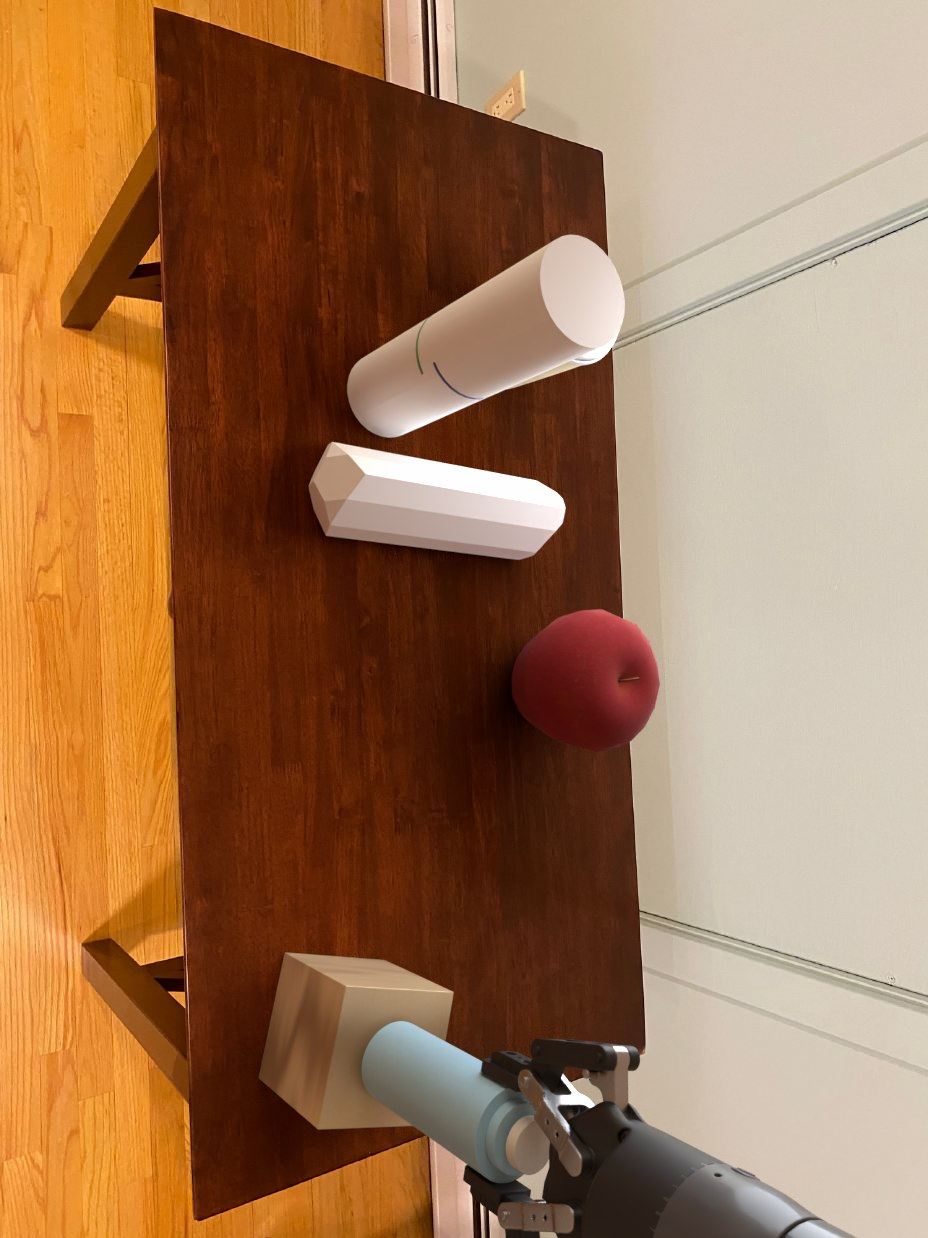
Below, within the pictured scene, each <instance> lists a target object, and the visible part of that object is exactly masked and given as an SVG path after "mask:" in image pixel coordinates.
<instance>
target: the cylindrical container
mask: <svg viewBox="0 0 928 1238" xmlns="http://www.w3.org/2000/svg"><path fill="white" fill-rule="evenodd" d="M624 293H625V292H624V288H623V284H622V281H621V278H620V275H619V273H618V272H617V268H616V266H615V265H614V263H613V261H612V260H611V258H610V257H609V256H608V254H607V253H606V252H605V251H604V250H603V249H602V248H601V247H599V245H597V244H596V243H595V242H594V241H592V240H591V239H588V238H587V237H585V236H582V235H579V234H566V235H562V236H560V237H557V238H556V239H554V240H552V241H551V242H549V243H547V244H545V245H544V246H542V247H541V248H539V249H537V250H536V251H534V252H532V253H531V254H529V255H528V256H526V257H524V258H523V259H521V260H519V261H518V262H516V263H514V264H513V265H511V266H509V267H508V268H507V269H505V270H504V271H502V272H500V273H498V274H497V275H495V276H493V277H492V278H491V279H489V280H487V281H485V282H484V283H482V284H481V285H479V286H477V287H476V288H474V289H473V290H471V291H469V292H468V293H466V294H464V295H463V296H461V297H460V298H458V299H456V300H454V301H453V302H451V303H450V304H447V305H446V306H445V307H443V308H442V309H440V310H438V311H437V312H436V313H433V314H432V315H430V316H429V317H427V318H425V319H424V320H422V321H420V322H419V323H417V324H415V325H414V326H412V327H410V328H409V329H407V330H406V331H404V332H402V333H400V334H399V335H398V336H396V337H394V338H393V339H391V340H390V341H388V342H386V343H385V344H383V345H381V346H380V347H378V348H377V349H375V350H373V351H372V352H369V354H367V355H365V356H364V357H362V358H360V359H359V360H358V361H357V362H356V363H355V364H354V365H353V367H352V368H351V370H350V373H349V375H348V379H347V384H346V394H347V399H348V403H349V407H350V408H351V411H352V413H353V415H354V416H355V418H356V419H357V420H358V422H359V423H360V424H361V425H362V426H363V427H364V428H365V429H366V430H367V431H369V432H370V433H372V434H374V435H376V436H379V437H383V438H389V439H390V438H391V439H392V438H398V437H401V436H404V435H406V434H408V433H410V432H413V431H415V430H417V429H420V428H422V427H425V426H426V425H429V424H431V423H433V422H435V421H438V420H440V419H442V418H445V417H446V416H449V415H451V414H453V413H455V412H458V411H460V410H462V409H465V408H467V407H469V406H471V405H473V404H476V403H478V402H481V401H482V400H483V401H484V400H485V399H488V398H490V397H492V396H494V395H496V394H500V393H502V392H504V391H505V390H509V389H508V388H510V387H512V386H515V385H517V384H519V383H521V382H524V381H526V380H528V379H530V378H533V377H535V376H537V375H539V374H542V373H544V372H546V371H549V370H551V369H553V368H555V367H558V366H560V365H562V364H564V363H567V362H569V361H571V360H573V359H576V358H578V357H580V356H582V355H585V354H587V353H589V352H592V351H594V350H596V349H598V348H601V347H603V346H605V345H607V344H608V343H610V342H611V341H612V340H613V339H614V338H615V337H616V336H617V334H618V335H619V333H620V330H621V329H622V325H623V322H624V319H625V313H626V312H625V311H626V305H625V303H626V302H625V301H626V300H625V294H624ZM617 337H618V336H617Z"/></svg>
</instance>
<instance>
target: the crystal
mask: <svg viewBox="0 0 928 1238" xmlns="http://www.w3.org/2000/svg"><path fill="white" fill-rule="evenodd" d="M314 469H315V470H314V471H313V474H312V476H311V478H310V481H309V484H308V492H309V495H310V499H311V504H312V508H313V509H312V510H313V511H314V514H315V515H316V518H317V520H318V522H319V525H320V527H321V528H322V531H323V534H324V535H325V536H326V537H331V538H332V537H333V538H339V539H349V540H358V541H364V542H365V541H366V542H371V543H372V542H374V543H380V544H388V545H395V546H396V545H397V546H406V547H413V548H419V549H420V548H421V549H428V550H430V549H431V550H437V551H445V552H452V553H453V552H454V553H460V554H468V555H475V556H476V555H477V556H485V557H491V558H492V557H493V558H500V559H507V560H508V559H509V560H515V561H516V560H517V561H521V560H524V559H528V558H530V557H534V556H535V554H536V553H537V552H538V551H539V550H540V549H541V548H542V547H543V546H544V545H545V544H546V543H547V542H548V540H550V539H551V538H552V536H553V535H554V534H555V533H556V532H557V531H558V529H559V528H561V526H562V525H563V523H564V519H565V514H566V504H565V502H564V499H563V497H562V496H561V495H560V494H559V493H558V492H556V491H555V490H553V489H552V488H550V487H548V486H547V485H545V484H543V483H541V482H540V481H538V480H535V479H531V478H524V477H521V476H515V475H509V474H503V473H498V472H493V471H489V470H482V469H477V468H472V467H467V466H462V465H457V464H450V463H446V462H445V463H444V462H441V461H435V460H429V459H424V458H420V457H414V456H408V455H404V454H398V453H394V452H393V453H392V452H387V451H383V450H378V449H371V448H367V447H362V446H356V445H352V444H351V445H350V444H346V443H341V442H336V441H335V442H334V441H330V442H329V443H328V444H327V446H326V447H325V450H324V452H323V454H322V456H321V457H320V460H319V462H318V463H317V466H316V467H315V468H314Z"/></svg>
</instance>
